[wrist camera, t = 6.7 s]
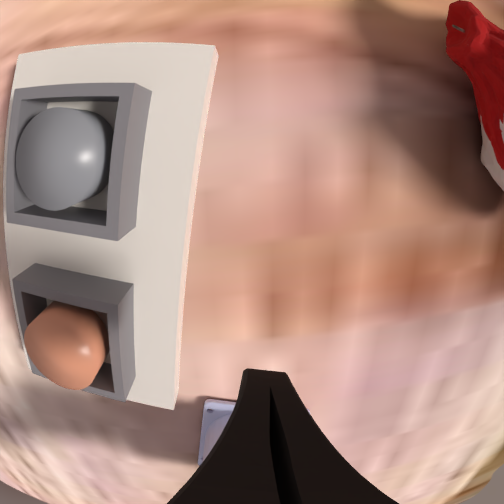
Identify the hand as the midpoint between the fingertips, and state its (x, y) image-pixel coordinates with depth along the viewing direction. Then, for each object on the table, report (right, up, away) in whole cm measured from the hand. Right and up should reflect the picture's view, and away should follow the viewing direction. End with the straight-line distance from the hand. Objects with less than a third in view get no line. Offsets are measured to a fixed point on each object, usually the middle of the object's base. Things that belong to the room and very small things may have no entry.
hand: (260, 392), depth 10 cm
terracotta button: (-11, 0, +7) cm, 12 cm away
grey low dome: (-9, +9, +4) cm, 14 cm away
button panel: (-10, +6, +8) cm, 14 cm away
